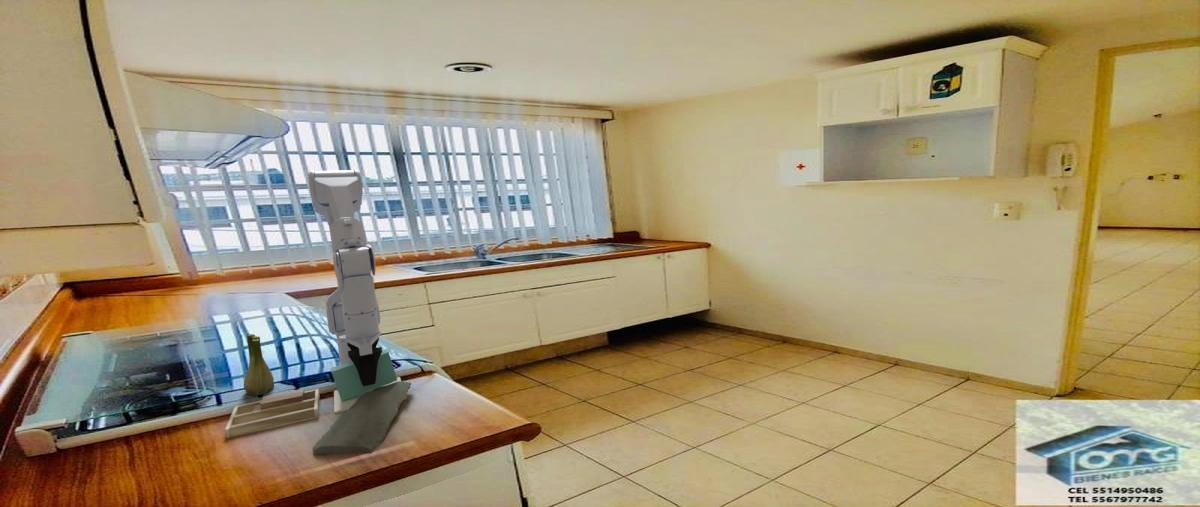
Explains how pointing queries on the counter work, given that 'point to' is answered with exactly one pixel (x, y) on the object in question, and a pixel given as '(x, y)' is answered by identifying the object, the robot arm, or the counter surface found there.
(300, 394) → the offcut top
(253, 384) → the fennel bulb
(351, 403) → the tile
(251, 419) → the rack
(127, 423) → the counter surface
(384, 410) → the stone slab
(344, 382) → the board
